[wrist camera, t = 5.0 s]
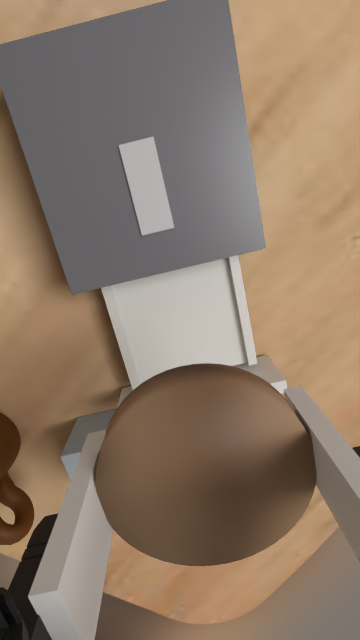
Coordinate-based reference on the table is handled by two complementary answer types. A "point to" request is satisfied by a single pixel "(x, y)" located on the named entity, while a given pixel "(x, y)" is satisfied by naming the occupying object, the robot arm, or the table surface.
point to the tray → (186, 322)
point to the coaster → (204, 466)
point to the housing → (137, 140)
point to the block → (83, 437)
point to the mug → (12, 487)
